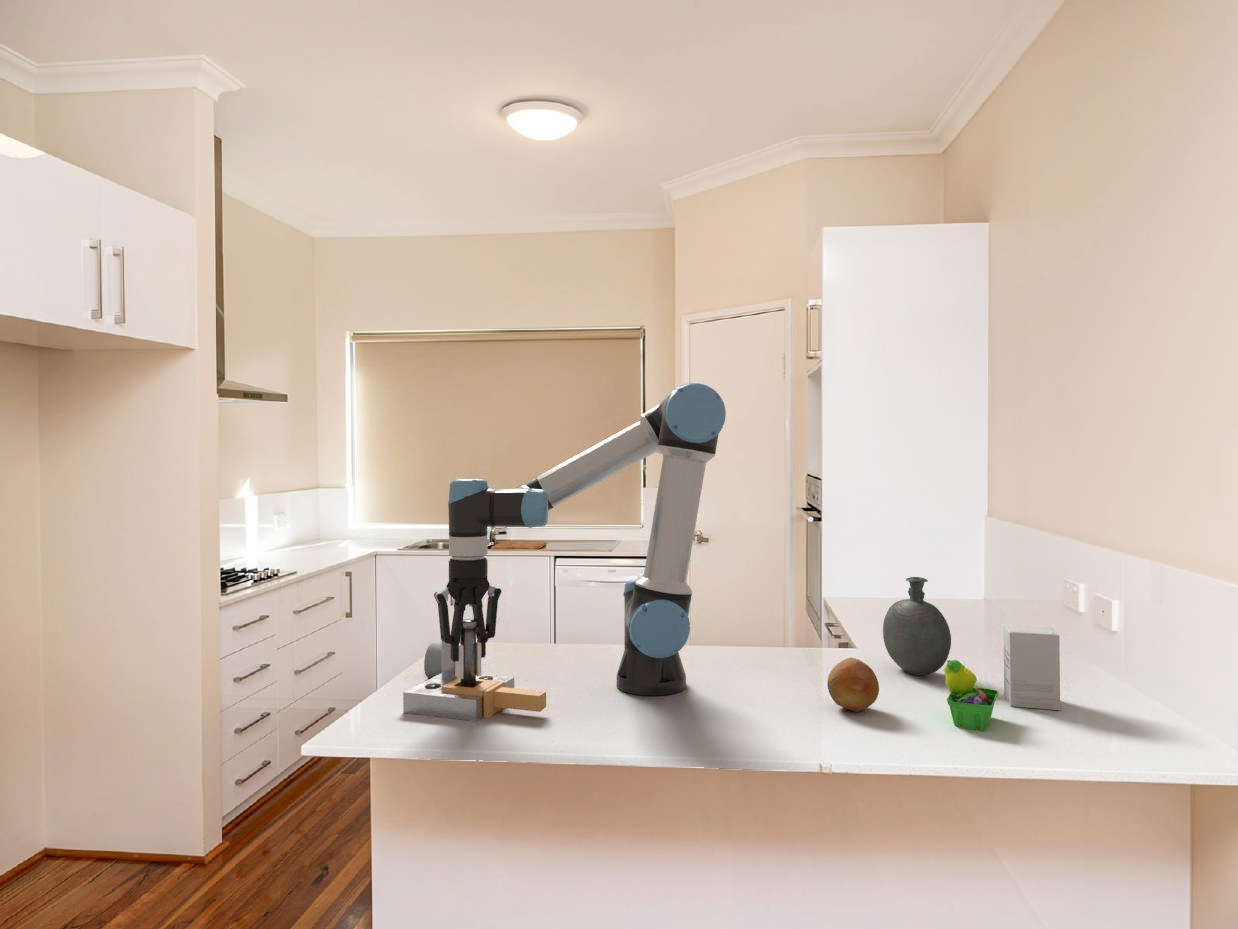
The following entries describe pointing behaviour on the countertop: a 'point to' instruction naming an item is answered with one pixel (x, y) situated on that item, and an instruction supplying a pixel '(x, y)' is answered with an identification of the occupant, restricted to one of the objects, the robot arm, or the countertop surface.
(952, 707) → the fruit basket
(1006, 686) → the supplement box
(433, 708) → the grey latch block
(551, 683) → the countertop surface
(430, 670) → the ceramic mug
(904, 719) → the countertop surface
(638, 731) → the countertop surface
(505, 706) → the bracket
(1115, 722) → the countertop surface
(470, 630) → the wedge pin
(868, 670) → the onion
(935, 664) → the flask
